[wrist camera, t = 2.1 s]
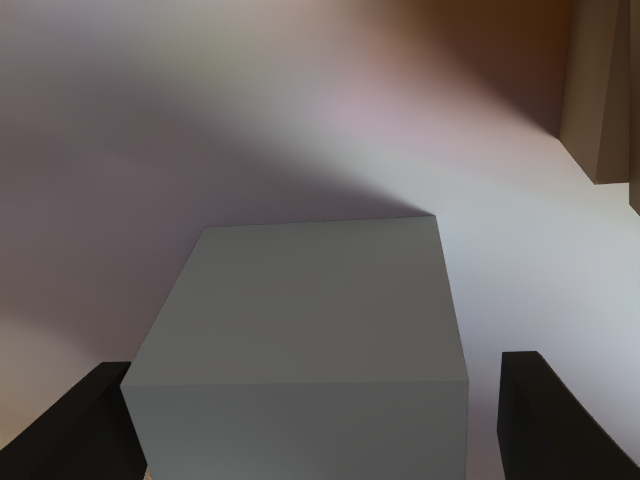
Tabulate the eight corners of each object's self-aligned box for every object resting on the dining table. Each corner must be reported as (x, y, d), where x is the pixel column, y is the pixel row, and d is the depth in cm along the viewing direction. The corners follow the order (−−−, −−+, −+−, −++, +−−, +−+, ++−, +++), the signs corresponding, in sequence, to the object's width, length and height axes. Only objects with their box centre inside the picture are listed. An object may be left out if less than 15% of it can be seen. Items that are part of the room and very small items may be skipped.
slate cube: (435, 390, 15) (461, 591, 10) (242, 393, 15) (190, 584, 11) (435, 213, 12) (468, 380, 8) (205, 225, 13) (119, 386, 8)
